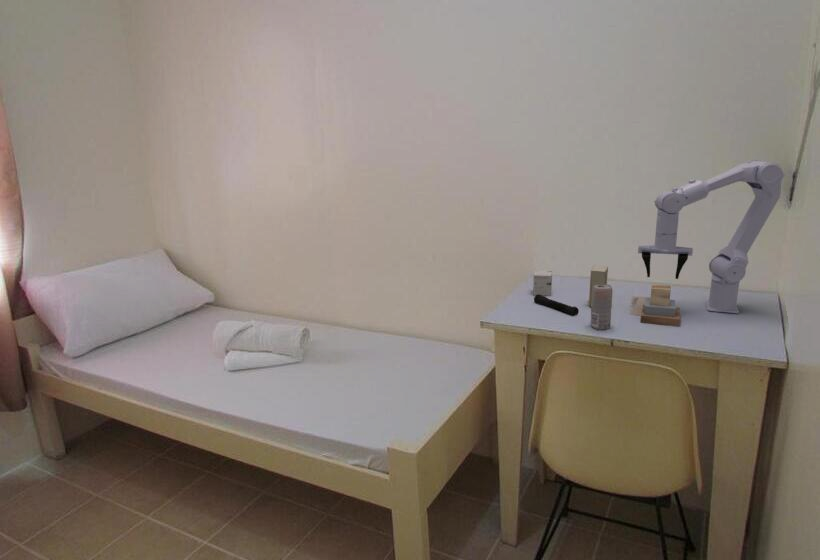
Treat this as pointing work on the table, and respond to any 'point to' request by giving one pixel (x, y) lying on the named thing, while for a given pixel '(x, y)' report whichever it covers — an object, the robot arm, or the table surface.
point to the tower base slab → (661, 318)
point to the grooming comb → (637, 305)
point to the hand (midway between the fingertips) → (662, 277)
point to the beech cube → (660, 294)
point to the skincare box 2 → (597, 278)
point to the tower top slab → (660, 309)
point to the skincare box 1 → (542, 283)
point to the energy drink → (601, 306)
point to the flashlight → (556, 305)
